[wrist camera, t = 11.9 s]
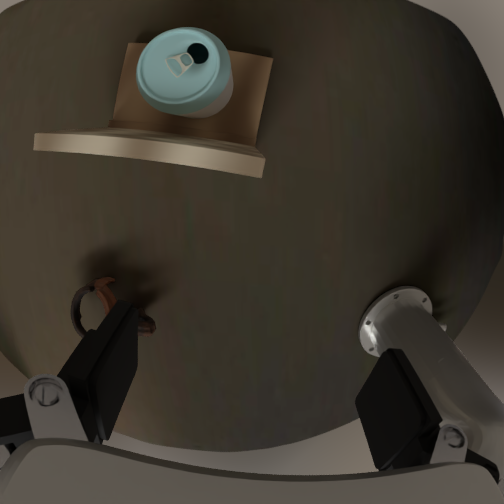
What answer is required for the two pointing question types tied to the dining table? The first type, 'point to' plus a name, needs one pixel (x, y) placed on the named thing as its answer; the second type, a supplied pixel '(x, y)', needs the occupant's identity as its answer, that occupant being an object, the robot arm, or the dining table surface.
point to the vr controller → (106, 307)
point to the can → (185, 73)
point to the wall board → (178, 124)
